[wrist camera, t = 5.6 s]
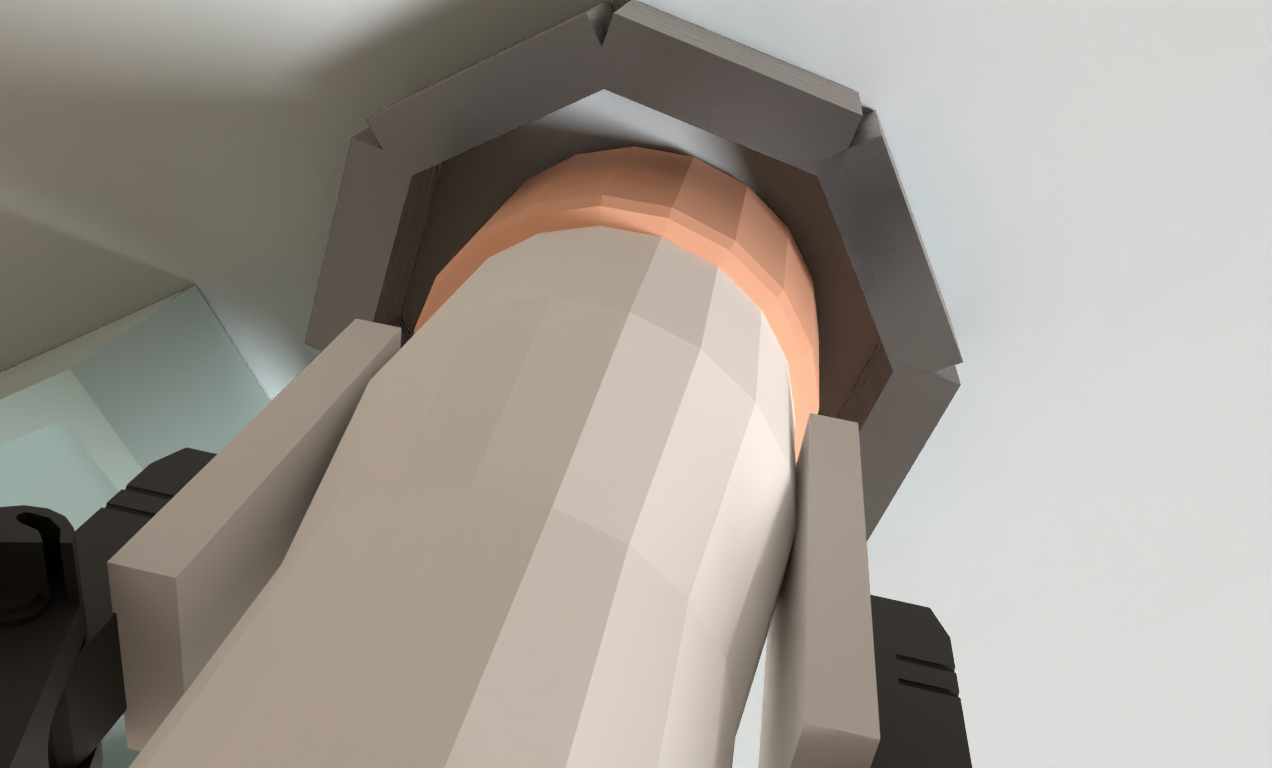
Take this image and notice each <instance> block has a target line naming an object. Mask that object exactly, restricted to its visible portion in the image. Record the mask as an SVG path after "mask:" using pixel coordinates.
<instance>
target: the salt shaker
mask: <svg viewBox="0 0 1272 768" xmlns="http://www.w3.org/2000/svg"><path fill="white" fill-rule="evenodd" d="M818 411H819V328H818V319H817V310H816V301H815V292H814V283H813V278H812V275H811V273H810V271H809V269H808V267H807V265H806V263H805V261H804V259H803V257H802V255H801V252H800V250H799V248H798V246H797V244H796V242H795V240H794V238H793V236H792V234H791V232H790V229H789V228H788V226H787V225H786V224H785V223H784V222H783V221H782V220H781V219H780V218H779V217H778V216H777V215H776V214H775V213H774V212H773V211H772V210H771V209H770V208H769V207H768V206H767V205H766V204H765V203H764V202H763V201H762V200H761V199H760V198H759V197H758V196H757V195H756V194H755V193H754V191H753V190H752V189H751V188H750V187H749V186H748V185H746V184H744V183H742V182H740V181H739V180H737V179H735V178H733V177H731V176H729V175H727V174H725V173H723V172H722V171H720V170H718V169H716V168H714V167H712V166H710V165H708V164H706V163H705V162H703V161H701V160H699V159H697V158H695V157H692V156H686V155H681V154H675V153H669V152H664V151H658V150H653V149H647V148H641V147H636V146H633V147H626V148H619V149H612V150H605V151H598V152H591V153H584V154H577V155H574V156H572V157H570V158H568V159H567V160H565V161H563V162H561V163H559V164H557V165H555V166H553V167H551V168H549V169H547V170H545V171H543V172H541V173H539V174H537V175H535V176H533V177H531V178H529V179H527V180H526V181H525V182H524V183H523V184H522V185H521V186H520V187H519V188H518V189H517V190H516V191H515V193H514V194H513V195H512V196H511V197H510V198H509V199H508V200H507V201H506V202H505V203H504V204H503V205H502V206H501V207H500V208H499V210H498V211H497V212H496V213H495V214H494V215H493V216H492V217H491V218H490V219H489V220H488V221H487V222H486V223H485V224H484V226H483V227H482V228H481V229H480V230H479V231H478V232H477V233H476V234H475V235H474V236H473V237H472V238H471V239H470V241H469V242H468V243H467V244H466V245H465V246H464V247H463V248H462V249H461V250H460V251H459V252H458V253H457V255H456V256H455V257H454V258H453V259H452V260H451V261H450V262H449V263H448V264H447V265H446V266H445V267H444V268H443V270H442V271H441V272H440V273H439V274H438V275H437V276H436V278H435V281H434V283H433V285H432V288H431V290H430V293H429V295H428V297H427V300H426V302H425V305H424V307H423V309H422V312H421V314H420V317H419V319H418V322H417V324H416V326H415V329H414V335H413V336H412V337H411V338H410V339H409V340H408V341H407V343H406V344H405V345H404V346H403V347H402V348H401V349H400V350H399V351H398V352H397V353H396V354H395V355H394V356H393V357H392V358H391V359H390V360H389V361H388V362H387V363H386V364H385V365H384V366H383V367H382V368H381V370H380V371H379V372H378V373H377V374H376V375H375V376H374V377H373V378H372V379H371V380H370V381H369V383H368V385H367V387H366V389H365V391H364V393H363V395H362V398H361V400H360V402H359V404H358V406H357V408H356V410H355V412H354V414H353V416H352V418H351V421H350V423H349V425H348V427H347V429H346V431H345V433H344V435H343V437H342V439H341V441H340V443H339V446H338V448H337V450H336V452H335V454H334V456H333V458H332V460H331V462H330V464H329V466H328V468H327V471H326V473H325V475H324V477H323V479H322V481H321V483H320V485H319V487H318V489H317V491H316V493H315V496H314V498H313V500H312V502H311V504H310V506H309V508H308V510H307V512H306V514H305V516H304V518H303V521H302V523H301V525H300V527H299V529H298V531H297V533H296V535H295V537H294V539H293V541H292V543H291V546H290V548H289V550H288V552H287V554H286V556H285V558H284V560H283V562H282V564H281V566H280V567H279V568H278V570H277V571H276V572H275V574H274V575H273V576H272V578H271V579H270V580H269V582H268V583H267V584H266V586H265V587H264V588H263V590H262V591H261V592H260V594H259V595H258V596H257V598H256V599H255V600H254V602H253V603H252V604H251V606H250V607H249V608H248V610H247V611H246V612H245V614H244V615H243V616H242V618H241V619H240V620H239V622H238V623H237V624H236V626H235V627H234V628H233V630H232V631H231V632H230V634H229V635H228V636H227V637H226V639H225V640H224V641H223V643H222V644H221V645H220V647H219V648H218V649H217V651H216V652H215V653H214V655H213V656H212V657H211V659H210V660H209V661H208V663H207V664H206V665H205V667H204V668H203V669H202V671H201V672H200V673H199V675H198V676H197V677H196V679H195V680H194V681H193V683H192V684H191V685H190V687H189V688H188V689H187V691H186V692H185V693H184V695H183V696H182V697H181V699H180V700H179V701H178V703H177V704H176V705H175V707H174V708H173V709H172V711H171V712H170V713H169V715H168V716H167V717H166V719H165V720H164V721H163V723H162V724H161V725H160V727H159V728H158V729H157V731H156V732H155V733H154V735H153V736H152V737H151V739H150V740H149V741H148V743H147V744H146V745H145V747H144V748H143V749H142V751H141V752H140V753H139V755H138V756H137V757H136V759H135V760H134V761H133V763H132V764H131V765H130V767H129V768H732V762H733V752H734V743H735V737H736V733H737V730H738V727H739V724H740V721H741V717H742V714H743V711H744V708H745V705H746V701H747V698H748V695H749V692H750V688H751V685H752V682H753V679H754V676H755V672H756V669H757V666H758V663H759V659H760V656H761V653H762V650H763V647H764V643H765V640H766V637H767V634H768V631H769V627H770V624H771V621H772V618H773V614H774V611H775V608H776V605H777V602H778V598H779V595H780V591H781V587H782V584H783V580H784V576H785V572H786V568H787V564H788V560H789V556H790V553H791V549H792V545H793V541H794V537H795V533H796V526H797V506H796V463H797V459H798V456H799V452H800V448H801V444H802V440H803V437H804V433H805V429H806V425H807V421H808V418H809V414H810V413H813V414H818Z"/></svg>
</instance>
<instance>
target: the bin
mask: <svg viewBox="0 0 1272 768" xmlns="http://www.w3.org/2000/svg"><path fill="white" fill-rule="evenodd" d="M269 403H270V400H269V399H268V397H267V395H266V394H265V392H264V391H263V389H262V388H261V386H260V385H259V383H258V381H257V380H256V378H255V377H254V375H253V374H252V372H251V371H250V369H249V367H248V366H247V364H246V363H245V361H244V360H243V358H242V357H241V355H240V353H239V352H238V350H237V349H236V347H235V346H234V344H233V343H232V341H231V339H230V338H229V336H228V335H227V333H226V332H225V330H224V329H223V327H222V325H221V324H220V322H219V321H218V319H217V318H216V316H215V315H214V313H213V311H212V310H211V308H210V307H209V305H208V304H207V302H206V300H205V299H204V297H203V296H202V294H201V293H200V291H199V290H198V288H197V286H196V285H194V286H192V287H189V288H187V289H185V290H183V291H181V292H178V293H176V294H174V295H172V296H169V297H167V298H165V299H163V300H160V301H158V302H156V303H154V304H152V305H149V306H147V307H145V308H143V309H140V310H138V311H136V312H134V313H131V314H129V315H127V316H125V317H123V318H120V319H118V320H116V321H114V322H111V323H109V324H107V325H105V326H102V327H100V328H98V329H96V330H94V331H91V332H89V333H87V334H85V335H82V336H80V337H78V338H76V339H73V340H71V341H69V342H67V343H65V344H62V345H60V346H58V347H56V348H53V349H51V350H49V351H47V352H44V353H42V354H40V355H38V356H36V357H33V358H31V359H29V360H27V361H24V362H22V363H20V364H18V365H15V366H13V367H11V368H9V369H7V370H4V371H2V372H0V507H7V506H19V505H27V506H35V507H42V508H49V509H51V510H53V511H55V512H57V513H59V514H62V515H64V516H66V518H67V519H68V521H69V522H70V523H71V525H72V526H73V527H74V531H76V530H77V529H78V528H79V527H80V526H81V525H82V524H83V523H85V522H86V521H87V520H88V519H89V518H90V517H91V516H92V515H93V514H95V513H96V512H97V511H98V510H99V509H100V508H101V507H103V508H105V507H106V504H107V502H108V501H109V500H110V499H111V498H112V497H114V496H115V495H116V494H117V493H118V492H119V491H120V490H121V489H123V490H125V489H126V485H127V484H128V483H129V482H130V481H131V480H133V479H134V478H135V477H136V476H137V475H138V474H139V473H140V472H141V471H143V470H144V469H145V468H146V467H147V466H148V465H149V464H150V463H152V462H155V461H157V460H159V459H161V458H163V457H166V456H168V455H170V454H172V453H175V452H177V451H179V450H181V449H183V448H186V447H187V448H192V449H196V450H201V451H206V452H210V453H215V454H218V453H219V452H220V451H221V450H222V449H223V448H224V447H225V446H226V445H227V444H228V443H229V442H230V441H231V440H232V439H233V438H234V437H235V436H236V435H237V434H238V433H239V432H240V431H241V430H242V429H243V428H245V427H246V426H247V425H248V424H249V423H250V422H251V421H252V420H253V419H254V418H255V417H256V416H257V415H258V414H259V413H260V412H261V411H262V410H263V409H264V408H265V407H266V406H267V405H268V404H269ZM101 743H102V751H103V765H102V768H129V767H130V765H131V764H132V763H133V761H134V760H135V759H136V757H137V756H138V755H139V753H140V752H141V751H137V750H133V749H129V748H128V746H127V737H126V728H125V719H124V714H123V715H122V716H121V717H120V718H119V720H118V721H117V722H116V723H115V724H114V726H113V727H112V728H111V729H110V731H109V732H108V733H107V734H106V735H105V737H104V738H103V739H102V740H101Z"/></svg>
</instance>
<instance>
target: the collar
mask: <svg viewBox="0 0 1272 768" xmlns="http://www.w3.org/2000/svg"><path fill="white" fill-rule="evenodd" d="M603 89H606V90H608V91H611V92H613V93H615V94H618V95H620V96H623V97H625V98H628V99H630V100H632V101H635V102H637V103H640V104H642V105H645V106H647V107H650V108H652V109H654V110H657V111H659V112H662V113H664V114H667V115H669V116H671V117H674V118H676V119H679V120H681V121H684V122H686V123H689V124H691V125H693V126H696V127H698V128H701V129H703V130H706V131H708V132H710V133H713V134H715V135H718V136H720V137H723V138H725V139H727V140H730V141H732V142H735V143H737V144H740V145H742V146H745V147H747V148H749V149H752V150H754V151H757V152H759V153H762V154H764V155H766V156H769V157H771V158H774V159H776V160H779V161H781V162H784V163H786V164H788V165H791V166H793V167H796V168H798V169H801V170H803V171H805V172H808V173H810V174H813V175H815V176H818V178H819V181H820V184H821V186H822V189H823V191H824V194H825V196H826V199H827V202H828V204H829V207H830V209H831V212H832V215H833V217H834V220H835V222H836V225H837V227H838V230H839V233H840V235H841V238H842V240H843V243H844V246H845V248H846V251H847V253H848V256H849V258H850V261H851V264H852V266H853V269H854V271H855V274H856V277H857V279H858V282H859V284H860V287H861V289H862V292H863V295H864V297H865V300H866V302H867V305H868V308H869V310H870V313H871V315H872V318H873V320H874V323H875V326H876V328H877V331H878V333H879V336H880V341H879V343H878V345H877V347H876V349H875V350H874V352H873V354H872V356H871V358H870V360H869V362H868V363H867V365H866V367H865V369H864V371H863V373H862V375H861V376H860V378H859V380H858V382H857V384H856V386H855V387H854V389H853V391H852V393H851V395H850V397H849V399H848V400H847V402H846V404H845V406H844V408H843V410H842V412H841V413H840V415H839V417H838V419H842V420H847V421H852V422H857V423H858V427H859V442H860V456H861V470H862V484H863V499H864V513H865V527H866V541H867V540H868V539H869V537H870V535H871V534H872V532H873V530H874V529H875V527H876V525H877V524H878V522H879V520H880V519H881V517H882V515H883V514H884V512H885V510H886V509H887V507H888V505H889V504H890V502H891V500H892V499H893V497H894V495H895V494H896V492H897V490H898V489H899V487H900V485H901V484H902V482H903V480H904V479H905V477H906V475H907V474H908V472H909V470H910V469H911V467H912V465H913V464H914V462H915V460H916V459H917V457H918V455H919V453H920V452H921V450H922V448H923V447H924V445H925V443H926V442H927V440H928V438H929V437H930V435H931V433H932V432H933V430H934V428H935V427H936V425H937V423H938V422H939V420H940V418H941V417H942V415H943V413H944V412H945V410H946V408H947V407H948V405H949V403H950V402H951V400H952V398H953V397H954V395H955V393H956V392H957V390H958V388H959V387H960V385H961V384H960V381H959V377H958V374H957V370H956V367H955V365H956V364H959V363H962V362H963V360H962V357H961V354H960V350H959V347H958V344H957V340H956V337H955V334H954V330H953V327H952V324H951V321H950V318H949V315H948V312H947V309H946V306H945V304H944V301H943V298H942V295H941V292H940V290H939V287H938V284H937V281H936V278H935V276H934V273H933V270H932V267H931V264H930V262H929V259H928V256H927V253H926V250H925V248H924V245H923V242H922V239H921V236H920V234H919V231H918V228H917V225H916V222H915V220H914V217H913V214H912V211H911V208H910V206H909V203H908V200H907V197H906V194H905V192H904V189H903V186H902V183H901V180H900V178H899V175H898V172H897V169H896V166H895V164H894V161H893V158H892V155H891V152H890V150H889V147H888V144H887V141H886V138H885V136H884V133H883V130H882V127H881V124H880V122H879V119H878V116H877V113H876V110H875V111H872V112H870V113H867V114H865V115H863V112H862V107H861V102H860V97H859V92H856V91H854V90H851V89H849V88H847V87H844V86H842V85H839V84H837V83H834V82H832V81H830V80H827V79H825V78H822V77H820V76H818V75H815V74H813V73H810V72H808V71H805V70H803V69H801V68H798V67H796V66H793V65H791V64H788V63H786V62H784V61H781V60H779V59H776V58H774V57H772V56H769V55H767V54H764V53H762V52H759V51H757V50H755V49H752V48H750V47H747V46H745V45H742V44H740V43H738V42H735V41H733V40H730V39H728V38H726V37H723V36H721V35H718V34H716V33H713V32H711V31H709V30H706V29H704V28H701V27H699V26H697V25H694V24H692V23H689V22H687V21H684V20H682V19H680V18H677V17H675V16H672V15H670V14H667V13H665V12H663V11H660V10H658V9H655V8H653V7H651V6H648V5H646V4H643V3H641V2H638V1H636V0H631V1H630V2H628V3H627V4H625V5H624V6H623V7H621V8H620V9H618V10H617V11H616V12H613V10H612V8H611V5H610V3H609V1H608V0H607V1H605V2H603V3H600V4H598V5H596V6H594V7H592V8H590V9H588V10H586V11H584V12H582V13H580V14H578V15H576V16H574V17H571V18H569V19H567V20H565V21H563V22H561V23H559V24H557V25H555V26H553V27H551V28H549V29H547V30H544V31H542V32H540V33H538V34H536V35H534V36H532V37H530V38H528V39H526V40H524V41H522V42H520V43H518V44H515V45H513V46H511V47H509V48H507V49H505V50H503V51H501V52H499V53H497V54H495V55H493V56H491V57H488V58H486V59H484V60H482V61H480V62H478V63H476V64H474V65H472V66H470V67H468V68H466V69H464V70H462V71H459V72H457V73H455V74H453V75H451V76H449V77H447V78H445V79H443V80H441V81H439V82H437V83H435V84H432V85H430V86H428V87H426V88H424V89H422V90H420V91H418V92H416V93H414V94H412V95H410V96H408V97H406V98H404V99H402V100H400V101H398V102H397V103H395V104H393V105H391V106H389V107H388V108H386V109H384V110H382V111H380V112H379V113H377V114H375V115H373V116H371V117H370V118H368V119H366V120H367V121H368V123H369V125H370V127H369V128H368V129H366V130H364V131H363V132H361V133H359V134H357V135H356V136H354V137H352V141H351V145H350V149H349V153H348V158H347V162H346V166H345V171H344V175H343V179H342V184H341V188H340V192H339V197H338V201H337V205H336V210H335V214H334V218H333V223H332V227H331V231H330V236H329V240H328V244H327V249H326V253H325V257H324V262H323V266H322V270H321V275H320V279H319V283H318V288H317V292H316V296H315V301H314V305H313V309H312V314H311V318H310V322H309V327H308V331H307V335H306V340H305V344H307V345H309V346H312V347H314V348H317V349H319V350H322V351H323V350H324V349H325V348H326V347H327V346H328V345H329V344H330V343H331V342H332V341H333V340H334V339H335V338H336V337H337V336H338V335H339V334H341V333H342V332H343V331H344V330H345V329H346V328H347V327H348V326H349V325H350V324H351V323H352V322H353V321H354V320H355V319H361V320H366V321H371V322H375V323H380V324H385V325H390V326H395V327H400V328H401V346H400V349H401V348H402V347H403V346H404V345H405V344H406V343H407V341H408V340H409V339H410V338H411V335H410V334H409V332H408V330H407V328H406V327H405V325H404V323H403V321H402V320H401V318H400V315H401V311H402V308H403V304H404V300H405V297H406V293H407V290H408V286H409V282H410V279H411V275H412V272H413V268H414V264H415V261H416V257H417V254H418V250H419V247H420V243H421V239H422V236H423V232H424V229H425V225H426V221H427V218H428V214H429V211H430V207H431V203H432V200H433V196H434V193H435V189H436V185H437V182H438V178H439V175H440V171H441V167H442V164H443V161H446V160H448V159H450V158H452V157H455V156H457V155H459V154H461V153H463V152H466V151H468V150H470V149H472V148H474V147H477V146H479V145H481V144H483V143H485V142H488V141H490V140H492V139H494V138H496V137H499V136H501V135H503V134H505V133H508V132H510V131H512V130H514V129H516V128H519V127H521V126H523V125H525V124H527V123H530V122H532V121H534V120H536V119H538V118H541V117H543V116H545V115H547V114H549V113H552V112H554V111H556V110H558V109H561V108H563V107H565V106H567V105H569V104H572V103H574V102H576V101H578V100H580V99H583V98H585V97H587V96H589V95H591V94H594V93H596V92H598V91H600V90H603ZM316 357H317V356H316ZM316 357H315V358H316ZM315 358H314V359H315ZM314 359H313V360H314ZM313 360H312V361H313ZM312 361H311V362H312ZM311 362H310V363H311ZM310 363H309V364H310Z"/></svg>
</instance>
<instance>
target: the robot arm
mask: <svg viewBox="0 0 1272 768" xmlns="http://www.w3.org/2000/svg"><path fill="white" fill-rule="evenodd" d="M400 346H401V328H400V327H395V326H390V325H385V324H380V323H375V322H371V321H366V320H361V319H355V320H354V321H353V322H352V323H351V324H350V325H349V326H348V327H347V328H346V329H345V330H344V331H343V332H342V333H341V334H339V335H338V336H337V337H336V338H335V339H334V340H333V341H332V342H331V343H330V344H329V345H328V346H327V347H326V348H325V349H324V350H323V351H322V352H321V353H320V354H319V355H318V356H317V357H316V358H315V359H314V360H313V361H312V362H311V363H310V364H309V365H308V366H307V367H306V368H305V369H304V370H303V371H302V372H301V373H300V374H299V375H298V376H297V377H296V378H295V379H294V380H293V381H291V382H290V383H289V384H288V385H287V386H286V387H285V388H284V389H283V390H282V391H281V392H280V393H279V394H278V395H277V396H276V397H275V398H274V399H273V400H272V401H271V402H270V403H269V404H268V405H267V406H266V407H265V408H264V409H263V410H262V411H261V412H260V413H259V414H258V415H257V416H256V417H255V418H254V419H253V420H252V421H251V422H250V423H249V424H248V425H247V426H246V427H245V428H243V429H242V430H241V431H240V432H239V433H238V434H237V435H236V436H235V437H234V438H233V439H232V440H231V441H230V442H229V443H228V444H227V445H226V446H225V447H224V448H223V449H222V450H221V451H220V452H219V453H218V454H215V453H210V452H206V451H201V450H196V449H192V448H187V447H186V448H183V449H181V450H179V451H177V452H175V453H172V454H170V455H168V456H166V457H163V458H161V459H159V460H157V461H155V462H152V463H150V464H149V465H148V466H147V467H146V468H145V469H144V470H143V471H141V472H140V473H139V474H138V475H137V476H136V477H135V478H134V479H133V480H131V481H130V482H129V483H128V484H127V485H126V489H125V490H123V489H121V490H120V491H119V492H118V493H117V494H116V495H115V496H114V497H112V498H111V499H110V500H109V501H108V502H107V504H106V507H105V508H103V507H101V508H100V509H99V510H98V511H97V512H96V513H95V514H93V515H92V516H91V517H90V518H89V519H88V520H87V521H86V522H85V523H83V524H82V525H81V526H80V527H79V528H78V529H77V530H76V531H74V527H73V526H72V525H71V523H70V522H69V521H68V519H67V518H66V516H64V515H62V514H59V513H57V512H55V511H53V510H51V509H49V508H42V507H35V506H27V505H19V506H7V507H0V768H102V765H103V751H102V743H101V740H102V739H103V738H104V737H105V735H106V734H107V733H108V732H109V731H110V729H111V728H112V727H113V726H114V724H115V723H116V722H117V721H118V720H119V718H120V717H121V716H122V715H123V714H124V719H125V728H126V737H127V746H128V748H129V749H133V750H137V751H142V749H143V748H144V747H145V745H146V744H147V743H148V741H149V740H150V739H151V737H152V736H153V735H154V733H155V732H156V731H157V729H158V728H159V727H160V725H161V724H162V723H163V721H164V720H165V719H166V717H167V716H168V715H169V713H170V712H171V711H172V709H173V708H174V707H175V705H176V704H177V703H178V701H179V700H180V699H181V697H182V696H183V695H184V693H185V692H186V691H187V689H188V688H189V687H190V685H191V684H192V683H193V681H194V680H195V679H196V677H197V676H198V675H199V673H200V672H201V671H202V669H203V668H204V667H205V665H206V664H207V663H208V661H209V660H210V659H211V657H212V656H213V655H214V653H215V652H216V651H217V649H218V648H219V647H220V645H221V644H222V643H223V641H224V640H225V639H226V637H227V636H228V635H229V634H230V632H231V631H232V630H233V628H234V627H235V626H236V624H237V623H238V622H239V620H240V619H241V618H242V616H243V615H244V614H245V612H246V611H247V610H248V608H249V607H250V606H251V604H252V603H253V602H254V600H255V599H256V598H257V596H258V595H259V594H260V592H261V591H262V590H263V588H264V587H265V586H266V584H267V583H268V582H269V580H270V579H271V578H272V576H273V575H274V574H275V572H276V571H277V570H278V568H279V567H280V566H281V564H282V562H283V560H284V558H285V556H286V554H287V552H288V550H289V548H290V546H291V543H292V541H293V539H294V537H295V535H296V533H297V531H298V529H299V527H300V525H301V523H302V521H303V518H304V516H305V514H306V512H307V510H308V508H309V506H310V504H311V502H312V500H313V498H314V496H315V493H316V491H317V489H318V487H319V485H320V483H321V481H322V479H323V477H324V475H325V473H326V471H327V468H328V466H329V464H330V462H331V460H332V458H333V456H334V454H335V452H336V450H337V448H338V446H339V443H340V441H341V439H342V437H343V435H344V433H345V431H346V429H347V427H348V425H349V423H350V421H351V418H352V416H353V414H354V412H355V410H356V408H357V406H358V404H359V402H360V400H361V398H362V395H363V393H364V391H365V389H366V387H367V385H368V383H369V381H370V380H371V379H372V378H373V377H374V376H375V375H376V374H377V373H378V372H379V371H380V370H381V368H382V367H383V366H384V365H385V364H386V363H387V362H388V361H389V360H390V359H391V358H392V357H393V356H394V355H395V354H396V353H397V352H398V351H399V350H400ZM796 506H797V526H796V533H795V537H794V541H793V545H792V549H791V553H790V556H789V560H788V564H787V568H786V572H785V576H784V580H783V584H782V587H781V591H780V595H779V598H778V602H777V605H776V608H775V611H774V614H773V618H772V621H771V624H770V627H769V631H768V634H767V647H766V662H765V677H764V692H763V706H762V721H761V736H760V751H759V766H758V768H972V764H971V758H970V753H969V747H968V741H967V735H966V729H965V723H964V717H963V711H962V705H961V699H960V698H958V695H959V688H958V682H957V676H956V673H954V669H955V664H954V658H953V652H952V646H951V641H950V637H949V635H948V634H947V632H946V631H945V629H944V628H943V627H942V625H941V624H940V622H939V621H938V619H937V618H936V616H935V615H934V613H933V612H932V610H931V609H930V608H928V607H923V606H919V605H914V604H910V603H905V602H901V601H896V600H892V599H887V598H882V597H878V596H873V595H870V584H869V570H868V556H867V541H866V527H865V513H864V499H863V484H862V470H861V456H860V442H859V427H858V423H857V422H852V421H847V420H842V419H837V418H833V417H828V416H823V415H818V414H813V413H810V414H809V418H808V421H807V425H806V429H805V433H804V437H803V440H802V444H801V448H800V452H799V456H798V459H797V463H796Z"/></svg>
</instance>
